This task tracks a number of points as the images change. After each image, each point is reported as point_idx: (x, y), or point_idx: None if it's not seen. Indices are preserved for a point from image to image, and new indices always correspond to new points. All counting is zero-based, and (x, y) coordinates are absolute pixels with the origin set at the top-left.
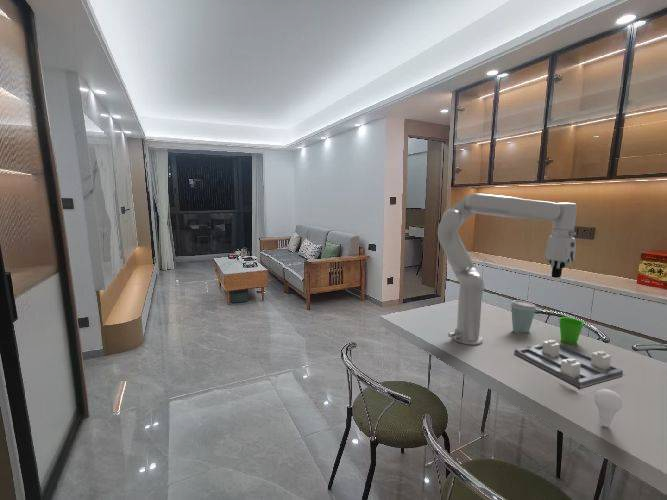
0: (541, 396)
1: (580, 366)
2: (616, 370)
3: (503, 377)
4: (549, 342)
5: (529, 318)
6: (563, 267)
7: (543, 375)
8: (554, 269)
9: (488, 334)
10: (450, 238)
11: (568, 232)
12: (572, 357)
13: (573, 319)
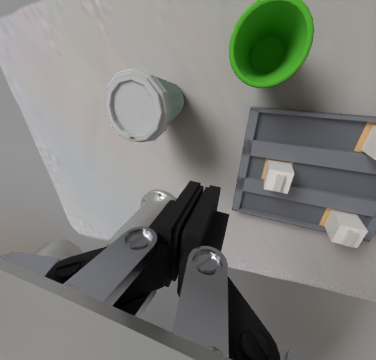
0: (324, 279)
1: (365, 227)
2: None
3: (265, 268)
4: (277, 190)
5: (174, 111)
6: (231, 281)
7: (299, 230)
8: (178, 271)
9: (158, 166)
10: None
11: None
12: (319, 157)
13: (262, 5)
